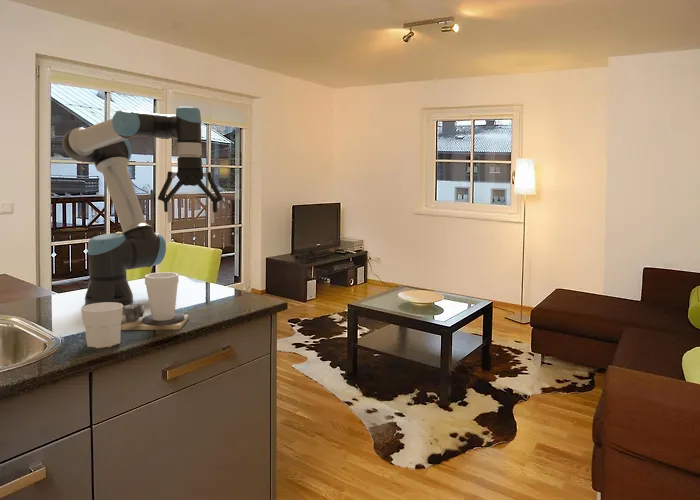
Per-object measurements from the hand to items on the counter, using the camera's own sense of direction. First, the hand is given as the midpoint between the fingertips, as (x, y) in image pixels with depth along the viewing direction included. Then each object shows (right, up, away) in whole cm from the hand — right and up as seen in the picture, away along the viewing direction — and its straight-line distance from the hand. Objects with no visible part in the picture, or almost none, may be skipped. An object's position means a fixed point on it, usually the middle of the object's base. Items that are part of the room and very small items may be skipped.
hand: (191, 222), depth 178 cm
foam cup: (-4, -30, -15) cm, 33 cm away
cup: (-13, -34, -34) cm, 50 cm away
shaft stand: (-9, -31, -15) cm, 36 cm away
